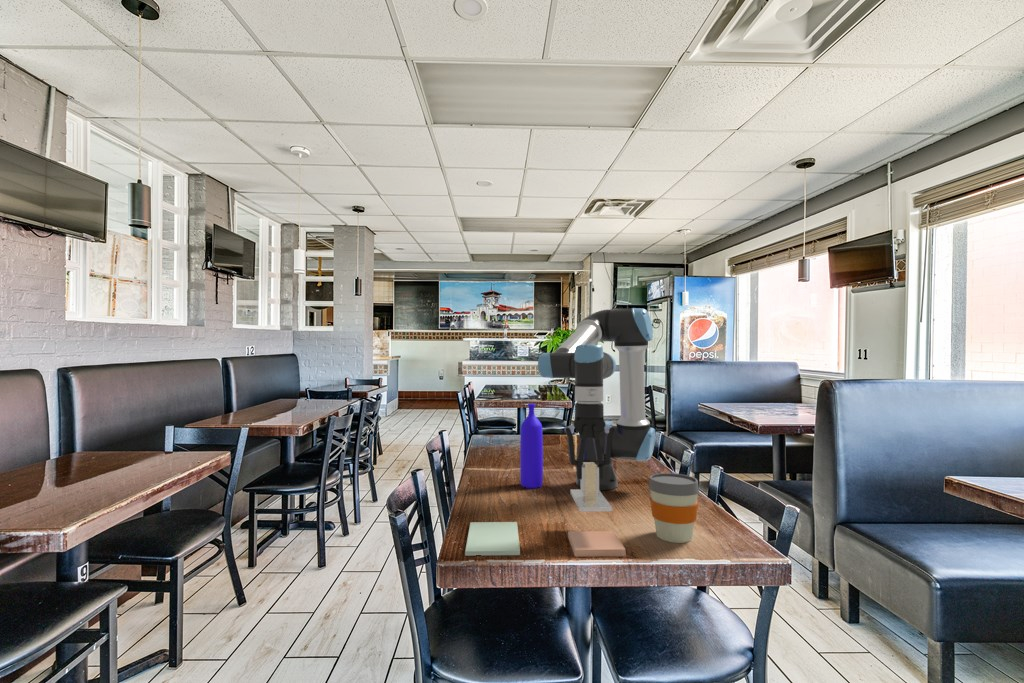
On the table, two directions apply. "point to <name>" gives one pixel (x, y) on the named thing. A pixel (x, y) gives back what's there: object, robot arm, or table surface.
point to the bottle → (531, 451)
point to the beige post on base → (590, 492)
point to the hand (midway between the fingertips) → (589, 491)
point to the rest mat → (492, 539)
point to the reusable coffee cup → (674, 506)
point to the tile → (595, 543)
